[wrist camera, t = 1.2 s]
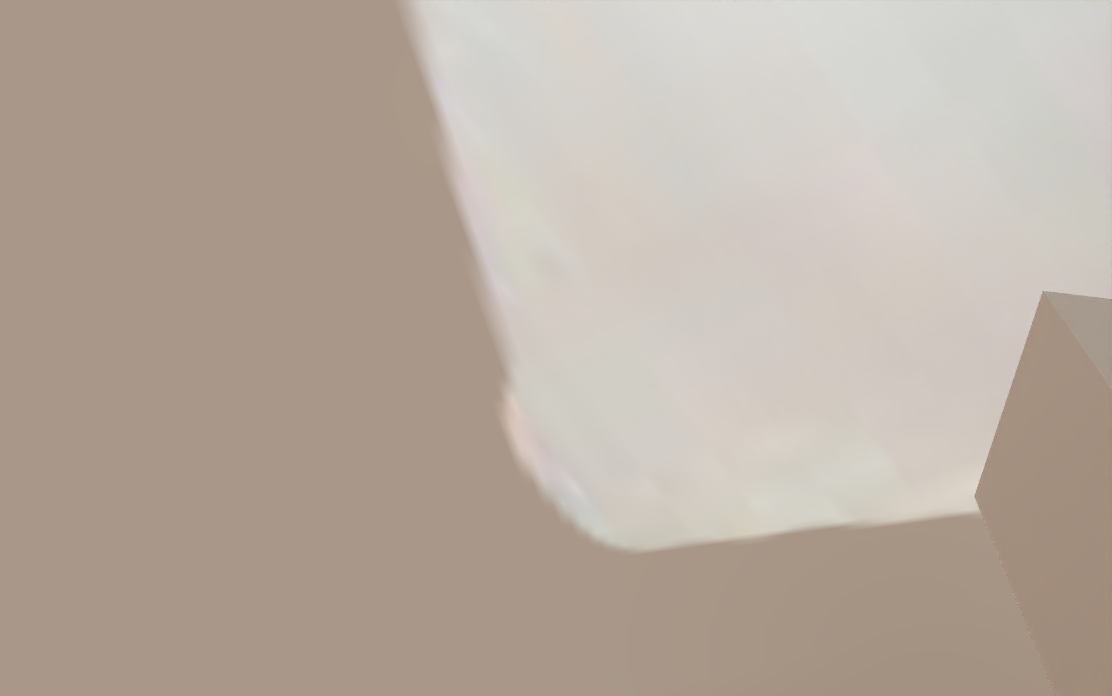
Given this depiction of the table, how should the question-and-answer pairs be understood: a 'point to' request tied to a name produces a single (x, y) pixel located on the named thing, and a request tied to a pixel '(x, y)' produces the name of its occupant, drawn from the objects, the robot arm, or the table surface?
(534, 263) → the table surface
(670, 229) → the table surface
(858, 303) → the table surface
